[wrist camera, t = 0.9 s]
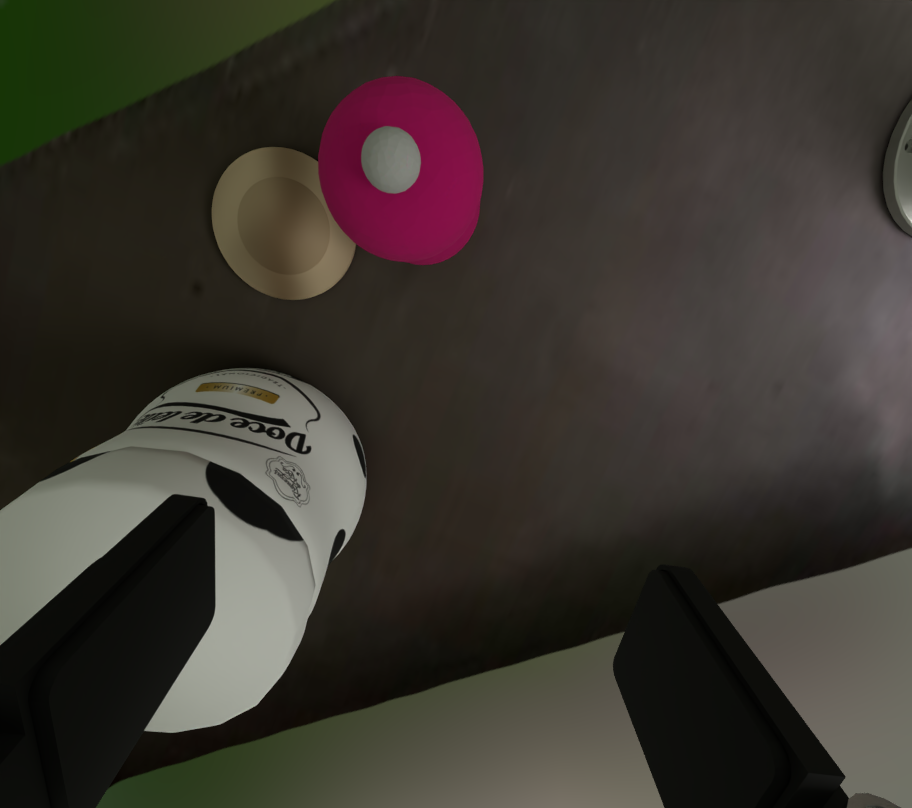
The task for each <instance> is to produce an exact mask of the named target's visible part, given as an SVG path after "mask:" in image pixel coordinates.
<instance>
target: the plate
mask: <svg viewBox="0 0 912 808" xmlns="http://www.w3.org/2000/svg"><path fill="white" fill-rule="evenodd" d="M212 223H213V230H214V234H215V238H216V241H217V243H218V246H219V249H220V251H221V252H222V254H223V256H224V258H225V260H226V261H227V263H228V264H229V266H230V267H231V268H232V269H233V270H234V272H235V273H236V274H237V275H238V276H239V277H240V278H241V279H242V280H243V281H245V282H246V283H247V284H249V285H250V286H251V287H253V288H255V289H256V290H258V291H260V292H262V293H264V294H266V295H269V296H272V297H275V298H280V299H286V300H300V299H306V298H311V297H314V296H316V295H319V294H321V293H323V292H325V291H327V290H329V289H330V288H331V287H333V286H334V285H335V284H336V283H337V282H338V281H339V280H340V279H341V278H342V277H343V276H344V274H345V273H346V272H347V270H348V268H349V266H350V264H351V262H352V259H353V257H354V253H355V249H356V243H354V242H353V241H352V240H351V239H350V238H349V237H348V236H347V235H346V234H345V233H344V232H343V231H342V229H341V228H340V227H339V225H338V224H337V223H336V221H335V220H334V218H333V216H332V214H331V213H330V211H329V209H328V206H327V204H326V201H325V198H324V196H323V193H322V190H321V185H320V180H319V174H318V161H316V160H315V159H313V158H312V157H310V156H308V155H306V154H304V153H302V152H299V151H296V150H293V149H288V148H283V147H266V148H260V149H256V150H253V151H250V152H248V153H246V154H244V155H242V156H241V157H239V158H238V159H236V160H235V161H234V162H233V163H232V164H231V165H230V166H229V167H228V168H227V169H226V171H225V172H224V173H223V175H222V177H221V178H220V180H219V182H218V184H217V187H216V189H215V193H214V197H213V203H212Z"/></svg>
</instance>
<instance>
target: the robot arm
mask: <svg viewBox="0 0 912 808" xmlns="http://www.w3.org/2000/svg"><path fill="white" fill-rule="evenodd" d="M883 191H884V195H885V200H886V204H887V207H888V209H889V211H890V213H891V215H892V217H893V219H894V221H895V222H896V223H897V224H898V225H899V226H900V227H901V228H902V230H903V231H905V232H906V233H908V234H909V235H911V236H912V99H911V100H910V102H909V103H908V105H907V106H906V108H905V110H904V111H903V113H902V114H901V116H900V118H899V120H898V123H897V125H896V127H895V129H894V131H893V133H892V136H891V139H890V142H889V145H888V148H887V151H886V155H885V162H884V169H883ZM215 607H216V593H215V510H214V508H213V507H211V506H208V505H207V501H206V499H204V498H201V497H194V496H187V495H180V494H173V495H171V496H170V497H168V498H167V499H166V500H165V501H164V502H163V503H162V504H160V505H159V506H158V507H157V508H156V509H155V510H154V511H153V512H152V513H150V514H149V515H148V516H147V517H146V518H145V519H144V520H143V521H141V522H140V523H139V524H138V525H137V526H136V527H135V528H134V529H133V530H131V531H130V532H129V533H128V534H127V535H126V536H125V537H124V538H123V539H121V540H120V541H119V542H118V543H117V544H116V545H115V546H114V547H113V548H111V549H110V550H109V551H108V552H107V553H106V554H105V555H104V556H102V557H101V558H99V559H98V560H96V561H95V562H94V563H92V564H91V565H90V566H89V567H88V568H86V569H85V570H84V571H83V572H82V573H81V574H80V575H79V576H77V577H76V578H75V579H74V580H73V581H72V582H71V583H70V584H68V585H67V586H66V587H65V588H64V589H63V590H62V591H61V592H59V593H58V594H57V595H56V596H55V597H54V598H53V599H52V600H50V601H49V602H48V603H47V604H46V605H45V606H44V607H43V608H42V609H40V610H39V611H38V612H37V613H36V614H35V615H34V616H33V617H31V618H30V619H29V620H28V621H27V622H26V623H25V624H24V625H22V626H21V627H20V628H19V629H18V630H17V631H16V632H15V633H13V634H12V635H11V636H10V637H9V638H8V639H7V640H6V641H4V642H3V643H2V644H1V645H0V808H96V806H97V804H98V803H99V801H100V800H101V798H102V797H103V795H104V794H105V792H106V790H107V789H108V787H109V786H110V784H111V782H112V781H113V779H114V778H115V776H116V774H117V773H118V771H119V770H120V768H121V766H122V765H123V763H124V762H125V760H126V759H127V757H128V755H129V754H130V752H131V751H132V749H133V747H134V746H135V744H136V743H137V741H138V739H139V738H140V736H141V735H142V733H143V732H144V730H145V728H146V727H147V725H148V724H149V722H150V720H151V719H152V717H153V716H154V714H155V712H156V711H157V709H158V708H159V706H160V705H161V703H162V701H163V700H164V698H165V697H166V695H167V693H168V692H169V690H170V689H171V687H172V685H173V684H174V682H175V681H176V679H177V677H178V676H179V674H180V673H181V671H182V670H183V668H184V666H185V665H186V663H187V662H188V660H189V658H190V657H191V655H192V654H193V652H194V650H195V649H196V647H197V646H198V644H199V643H200V641H201V639H202V638H203V636H204V635H205V633H206V631H207V630H208V628H209V626H210V625H211V622H212V620H213V617H214V614H215ZM613 671H614V676H615V679H616V681H617V684H618V687H619V689H620V692H621V695H622V697H623V700H624V703H625V705H626V708H627V710H628V713H629V716H630V718H631V721H632V724H633V726H634V728H635V731H636V734H637V737H638V739H639V742H640V744H641V747H642V750H643V752H644V755H645V758H646V760H647V763H648V765H649V768H650V771H651V773H652V776H653V778H654V781H655V784H656V786H657V789H658V792H659V794H660V797H661V800H662V802H663V805H664V807H665V808H901V807H899V806H897V805H895V804H893V803H892V802H890V801H888V800H886V799H884V798H881V797H878V796H875V795H872V794H869V793H856V794H854V795H853V796H852V797H850V798H848V796H847V795H846V794H845V792H844V791H843V789H842V788H841V787H840V784H841V783H842V781H843V780H844V779H845V775H844V774H843V773H842V771H841V770H840V769H839V767H838V766H837V765H836V763H835V762H834V761H833V759H832V758H831V757H830V755H829V754H828V752H827V751H826V750H825V749H824V747H823V746H822V744H821V743H820V742H819V740H818V739H817V738H816V736H815V735H814V734H813V732H812V731H811V730H810V728H809V727H808V726H807V725H806V723H805V721H804V720H803V719H802V717H801V716H800V715H799V713H798V712H797V711H796V709H795V708H794V707H793V706H792V704H791V703H790V701H789V700H788V699H787V697H786V696H785V695H784V693H783V692H782V691H781V689H780V688H779V687H778V685H777V684H776V683H775V681H774V680H773V679H772V677H771V676H770V674H769V673H768V672H767V670H766V669H765V668H764V666H763V665H762V664H761V662H760V661H759V660H758V658H757V657H756V656H755V654H754V653H753V652H752V650H751V649H750V648H749V646H748V645H747V644H746V642H745V641H744V639H743V638H742V637H741V636H740V634H739V633H738V632H737V630H736V629H735V627H734V626H733V625H732V623H731V622H730V621H729V619H728V618H727V617H726V615H725V614H724V613H723V611H722V610H721V609H720V607H719V606H718V605H717V603H716V602H715V600H714V599H713V598H712V596H711V595H710V594H709V592H708V591H707V590H706V588H705V587H704V586H703V584H702V583H701V582H700V580H699V579H698V578H697V576H696V575H695V574H694V572H693V571H692V570H691V569H688V568H685V567H678V566H671V565H660V566H659V567H657V569H656V570H652V571H651V572H650V573H649V575H648V577H647V580H646V582H645V584H644V587H643V589H642V592H641V594H640V597H639V599H638V601H637V604H636V606H635V609H634V611H633V614H632V616H631V618H630V621H629V623H628V626H627V628H626V630H625V633H624V635H623V638H622V640H621V643H620V645H619V647H618V650H617V652H616V655H615V657H614V662H613Z"/></svg>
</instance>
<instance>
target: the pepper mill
mask: <svg viewBox="0 0 912 808" xmlns="http://www.w3.org/2000/svg"><path fill="white" fill-rule="evenodd" d="M318 174H319V180H320V185H321V190H322V193H323V196H324V198H325V201H326V204H327V206H328V209H329V211H330V213H331V214H332V216H333V218H334V220H335V221H336V223H337V224H338V225H339V227H340V228H341V229H342V231H343V232H344V233H345V234H346V235H347V236H348V237H349V238H350V239H351V240H352V241H353V242H354V243H356V244H357V245H358V246H360V247H361V248H363V249H364V250H366V251H368V252H370V253H372V254H374V255H376V256H378V257H381V258H384V259H388V260H393V261H399V262H408V263H411V264H417V265H431V264H435V263H440V262H442V261H444V260H447V259H449V258H450V257H452V256H454V255H455V254H456V253H458V252H459V251H460V250H461V249H462V248H463V247H464V246H465V244H466V243H467V242H468V241H469V239H470V237H471V236H472V234H473V232H474V230H475V227H476V225H477V221H478V217H479V210H480V199H481V194H482V187H483V162H482V156H481V151H480V147H479V143H478V140H477V137H476V134H475V132H474V130H473V128H472V126H471V124H470V122H469V120H468V119H467V117H466V116H465V114H464V113H463V111H462V110H461V109H460V108H459V107H458V106H457V104H456V103H455V102H454V101H453V100H451V99H450V98H449V97H448V96H447V95H446V94H444V93H443V92H442V91H440V90H438V89H437V88H435V87H433V86H432V85H430V84H428V83H426V82H423V81H421V80H418V79H415V78H411V77H402V76H392V77H382V78H379V79H376V80H372V81H369V82H366V83H365V84H363V85H362V86H360V87H358V88H357V89H355V90H353V91H352V92H351V93H350V94H349V95H348V96H346V97H345V98H344V99H343V100H342V101H341V102H340V103H339V105H338V106H337V107H336V108H335V110H334V111H333V112H332V114H331V116H330V117H329V119H328V121H327V124H326V126H325V128H324V131H323V133H322V138H321V144H320V149H319V155H318Z"/></svg>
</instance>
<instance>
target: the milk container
mask: <svg viewBox="0 0 912 808" xmlns="http://www.w3.org/2000/svg"><path fill="white" fill-rule="evenodd" d="M365 492H366V463H365V457H364V452H363V448H362V445H361V442H360V440H359V437H358V435H357V433H356V431H355V429H354V427H353V426H352V424H351V423H350V421H349V420H348V418H347V417H346V416H345V414H344V413H343V412H342V411H341V410H340V408H339V407H338V406H337V405H336V404H335V403H334V402H333V401H332V400H330V399H329V398H328V397H327V396H326V395H324V394H323V393H322V392H320V391H319V390H318V389H316V388H314V387H313V386H311V385H309V384H308V383H306V382H304V381H302V380H300V379H297V378H295V377H293V376H290V375H287V374H284V373H281V372H277V371H273V370H267V369H260V368H236V369H226V370H221V371H216V372H211V373H207V374H204V375H200V376H197V377H194V378H192V379H189V380H187V381H184V382H182V383H180V384H178V385H176V386H174V387H172V388H171V389H169V390H167V391H166V392H164V393H163V394H161V395H160V396H159V397H157V398H156V399H155V400H153V401H152V402H151V403H150V404H149V405H148V406H147V407H146V408H145V409H144V410H143V411H142V412H141V413H140V414H139V415H138V416H137V417H136V418H135V420H134V421H133V422H132V423H131V425H130V426H129V427H128V428H127V430H126V431H125V432H123V433H121V434H120V435H118V436H116V437H114V438H112V439H110V440H108V441H106V442H104V443H102V444H100V445H98V446H96V447H94V448H92V449H91V450H89V451H87V452H85V453H83V454H81V455H80V456H78V457H77V458H75V459H73V460H72V461H71V462H69V463H67V464H66V465H64V466H62V467H60V468H59V469H57V470H55V471H54V472H52V473H51V474H50V475H48V476H47V477H46V478H44V479H43V480H41V481H40V482H39V483H37V484H36V485H35V486H33V487H32V488H30V489H29V490H28V491H26V492H25V493H23V494H22V495H21V496H19V497H18V498H17V499H15V500H14V501H13V502H11V503H10V504H8V505H7V506H6V507H4V508H3V509H2V510H0V645H1V644H2V643H3V642H4V641H6V640H7V639H8V638H9V637H10V636H11V635H12V634H13V633H15V632H16V631H17V630H18V629H19V628H20V627H21V626H22V625H24V624H25V623H26V622H27V621H28V620H29V619H30V618H31V617H33V616H34V615H35V614H36V613H37V612H38V611H39V610H40V609H42V608H43V607H44V606H45V605H46V604H47V603H48V602H49V601H50V600H52V599H53V598H54V597H55V596H56V595H57V594H58V593H59V592H61V591H62V590H63V589H64V588H65V587H66V586H67V585H68V584H70V583H71V582H72V581H73V580H74V579H75V578H76V577H77V576H79V575H80V574H81V573H82V572H83V571H84V570H85V569H86V568H88V567H89V566H90V565H91V564H92V563H94V562H95V561H96V560H98V559H99V558H101V557H102V556H104V555H105V554H106V553H107V552H108V551H109V550H110V549H111V548H113V547H114V546H115V545H116V544H117V543H118V542H119V541H120V540H121V539H123V538H124V537H125V536H126V535H127V534H128V533H129V532H130V531H131V530H133V529H134V528H135V527H136V526H137V525H138V524H139V523H140V522H141V521H143V520H144V519H145V518H146V517H147V516H148V515H149V514H150V513H152V512H153V511H154V510H155V509H156V508H157V507H158V506H159V505H160V504H162V503H163V502H164V501H165V500H166V499H167V498H168V497H170V496H171V495H173V494H180V495H187V496H194V497H201V498H204V499H206V501H207V505H208V506H211V507H213V508H214V510H215V593H216V607H215V614H214V617H213V620H212V622H211V625H210V626H209V628H208V630H207V631H206V633H205V635H204V636H203V638H202V639H201V641H200V643H199V644H198V646H197V647H196V649H195V650H194V652H193V654H192V655H191V657H190V658H189V660H188V662H187V663H186V665H185V666H184V668H183V670H182V671H181V673H180V674H179V676H178V677H177V679H176V681H175V682H174V684H173V685H172V687H171V689H170V690H169V692H168V693H167V695H166V697H165V698H164V700H163V701H162V703H161V705H160V706H159V708H158V709H157V711H156V712H155V714H154V716H153V717H152V719H151V720H150V722H149V724H148V725H147V727H146V728H145V730H144V731H155V732H170V733H175V732H181V731H186V730H192V729H198V728H203V727H209V726H214V725H220V724H222V723H223V722H225V721H227V720H229V719H231V718H233V717H235V716H237V715H239V714H241V713H243V712H245V711H247V710H248V709H250V708H252V707H254V706H256V705H257V704H258V703H259V702H260V701H261V699H262V698H263V697H264V696H265V695H266V694H267V692H268V691H269V690H270V689H271V688H272V686H273V685H274V684H275V683H276V682H277V680H278V679H279V678H280V677H281V676H282V674H283V673H284V671H285V669H286V668H287V666H288V665H289V663H290V661H291V659H292V657H293V655H294V653H295V651H296V649H297V648H298V646H299V644H300V642H301V639H302V636H303V634H304V631H305V627H306V623H307V619H308V617H309V615H310V613H311V612H312V610H313V607H314V605H315V603H316V600H317V597H318V594H319V592H320V588H321V585H322V582H323V579H324V576H325V573H326V570H327V568H328V565H329V564H330V563H331V562H332V561H333V560H334V558H335V557H336V556H337V555H338V554H339V553H340V551H341V550H342V549H343V547H344V546H345V545H346V543H347V542H348V540H349V539H350V537H351V535H352V533H353V531H354V530H355V528H356V525H357V523H358V521H359V518H360V515H361V512H362V508H363V504H364V500H365Z"/></svg>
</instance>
